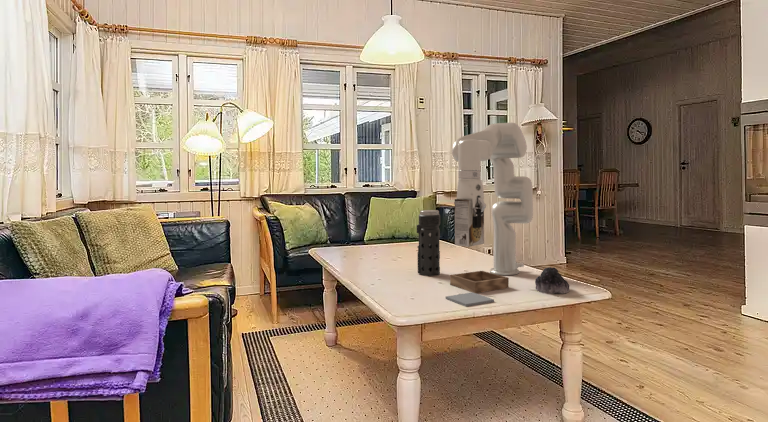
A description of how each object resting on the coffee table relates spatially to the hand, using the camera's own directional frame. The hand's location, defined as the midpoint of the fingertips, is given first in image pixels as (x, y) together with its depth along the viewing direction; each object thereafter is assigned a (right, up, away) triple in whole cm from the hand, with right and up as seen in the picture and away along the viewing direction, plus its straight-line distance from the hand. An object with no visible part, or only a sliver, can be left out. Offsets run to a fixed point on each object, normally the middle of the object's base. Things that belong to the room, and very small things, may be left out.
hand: (469, 226), depth 175 cm
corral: (+8, -24, +23) cm, 34 cm away
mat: (0, -26, +2) cm, 26 cm away
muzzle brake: (-10, -23, +47) cm, 54 cm away
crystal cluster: (+34, -25, +15) cm, 44 cm away
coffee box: (0, -7, +1) cm, 7 cm away
